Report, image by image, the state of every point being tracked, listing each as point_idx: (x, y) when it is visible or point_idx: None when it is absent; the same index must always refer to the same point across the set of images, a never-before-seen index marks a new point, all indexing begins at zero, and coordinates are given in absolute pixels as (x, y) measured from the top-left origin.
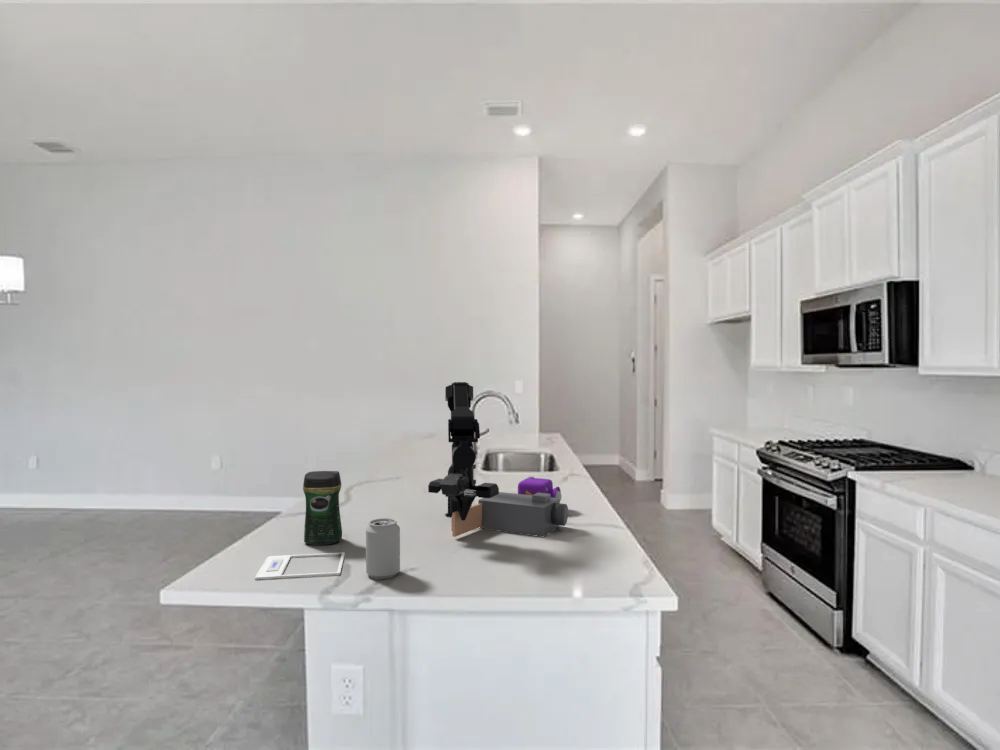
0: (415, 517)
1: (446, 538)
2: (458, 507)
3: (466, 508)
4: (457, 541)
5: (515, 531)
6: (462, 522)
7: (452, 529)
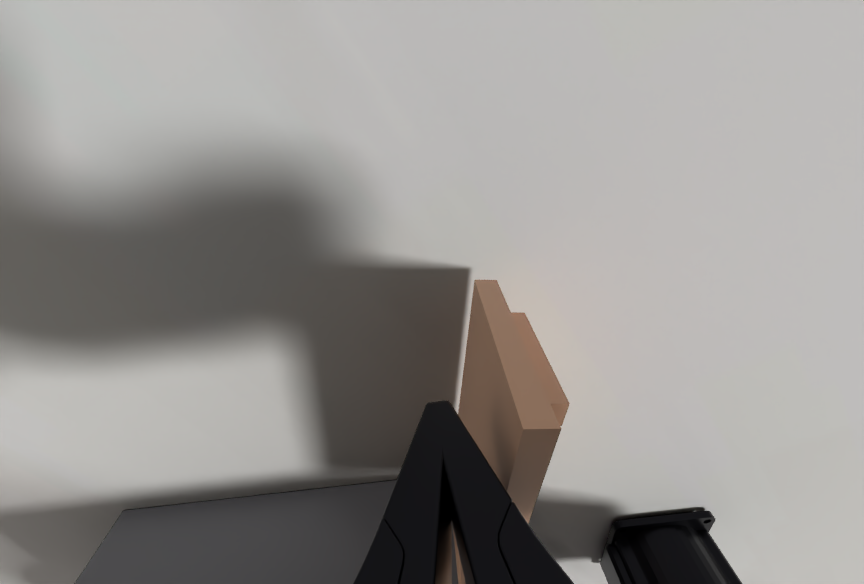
0: (859, 446)
1: (541, 266)
2: (494, 520)
3: (381, 539)
4: (435, 253)
5: (267, 502)
6: (478, 412)
7: (507, 307)
